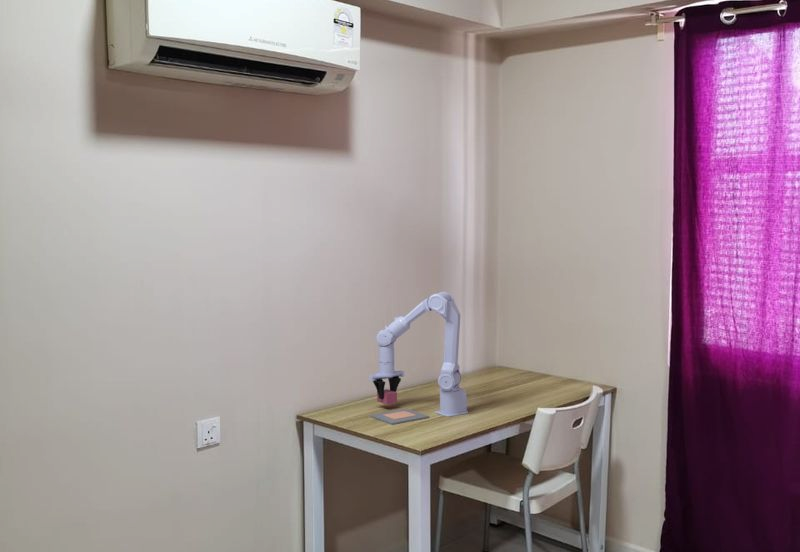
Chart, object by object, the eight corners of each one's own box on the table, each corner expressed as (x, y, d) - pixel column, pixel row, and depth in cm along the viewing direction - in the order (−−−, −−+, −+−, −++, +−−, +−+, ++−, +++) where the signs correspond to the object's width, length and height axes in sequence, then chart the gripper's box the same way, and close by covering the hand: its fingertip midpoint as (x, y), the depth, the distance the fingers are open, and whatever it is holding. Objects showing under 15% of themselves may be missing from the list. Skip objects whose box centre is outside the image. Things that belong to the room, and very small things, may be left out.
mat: (406, 410, 295) (406, 407, 295) (429, 417, 284) (429, 415, 284) (370, 416, 286) (370, 414, 286) (392, 424, 275) (392, 422, 275)
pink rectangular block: (387, 399, 302) (387, 389, 302) (397, 402, 297) (396, 392, 297) (377, 401, 300) (377, 390, 300) (386, 404, 295) (386, 393, 294)
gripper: (396, 358, 305) (396, 393, 306) (364, 362, 297) (364, 398, 298) (407, 360, 299) (407, 396, 300) (374, 365, 291) (375, 401, 292)
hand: (387, 397), depth 298 cm, fingers closed on pink rectangular block, 4 cm apart
